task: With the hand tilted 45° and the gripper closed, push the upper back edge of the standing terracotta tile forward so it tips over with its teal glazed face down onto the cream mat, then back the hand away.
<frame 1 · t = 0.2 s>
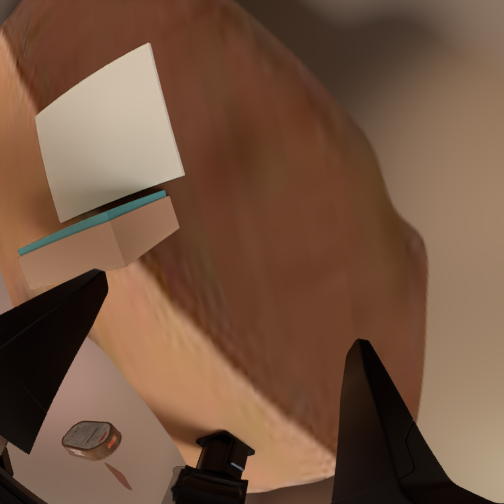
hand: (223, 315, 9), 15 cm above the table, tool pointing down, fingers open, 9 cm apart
tin: (99, 423, 42), on the table
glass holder: (203, 482, 43), on the table
tile: (122, 227, 26), on the table
mat: (95, 138, 24), on the table
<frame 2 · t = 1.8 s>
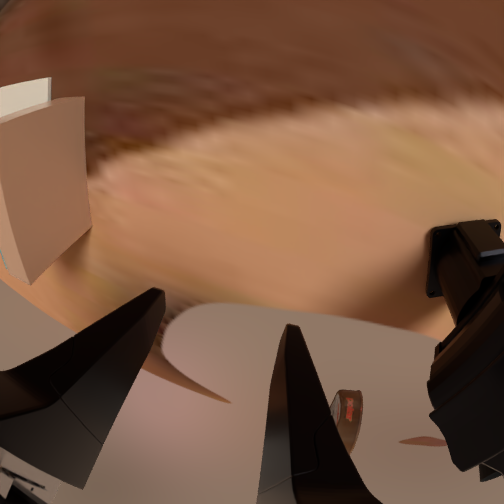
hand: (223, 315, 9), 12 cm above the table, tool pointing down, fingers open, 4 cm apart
tin: (337, 404, 34), on the table
tile: (74, 164, 21), on the table
mat: (16, 157, 22), on the table
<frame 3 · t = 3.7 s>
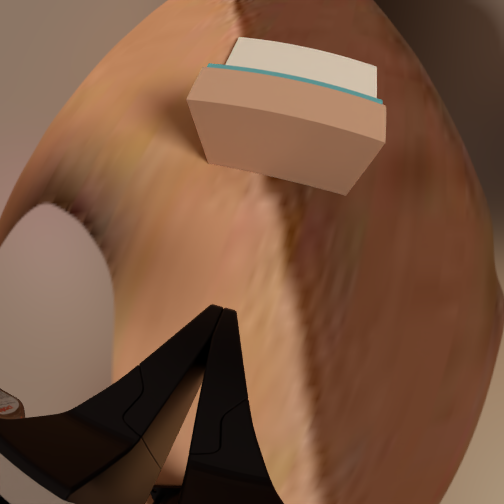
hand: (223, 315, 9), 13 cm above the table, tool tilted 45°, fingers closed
tin: (0, 393, 21), on the table
tile: (280, 162, 24), on the table
mat: (299, 86, 26), on the table
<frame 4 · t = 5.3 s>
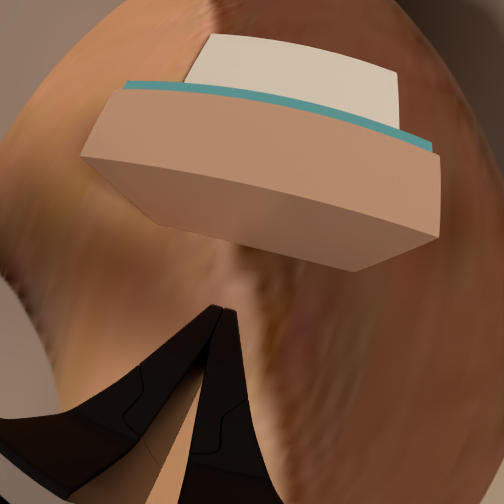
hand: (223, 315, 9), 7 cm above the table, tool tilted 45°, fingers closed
tile: (259, 223, 17), on the table
mat: (290, 101, 19), on the table
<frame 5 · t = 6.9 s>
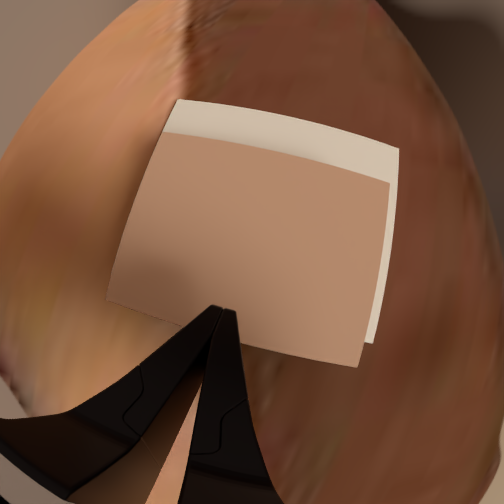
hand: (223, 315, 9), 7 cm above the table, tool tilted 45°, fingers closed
tile: (228, 335, 14), point 2 cm above the table, tilted 90°, touching mat
mat: (265, 204, 17), on the table
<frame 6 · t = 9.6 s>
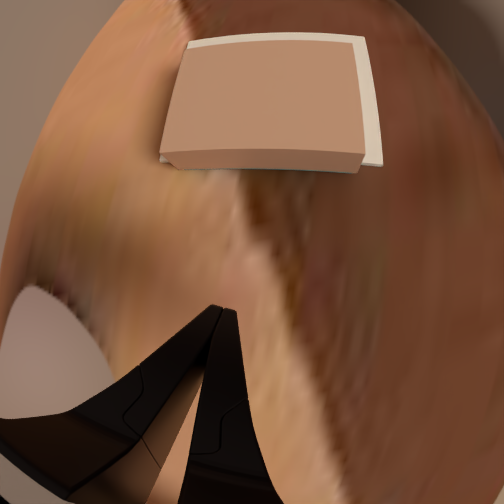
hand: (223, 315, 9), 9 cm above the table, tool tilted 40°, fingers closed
tile: (260, 159, 17), point 2 cm above the table, tilted 90°, touching mat
mat: (271, 86, 20), on the table
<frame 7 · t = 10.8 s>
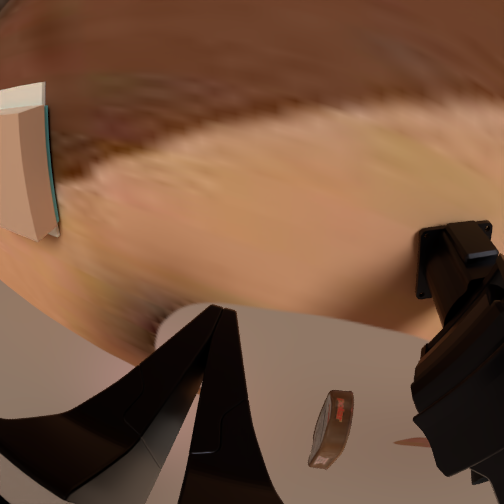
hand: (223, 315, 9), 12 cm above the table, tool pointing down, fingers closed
tin: (330, 404, 34), on the table
tile: (36, 175, 19), point 2 cm above the table, tilted 90°, touching mat
mat: (13, 160, 22), on the table
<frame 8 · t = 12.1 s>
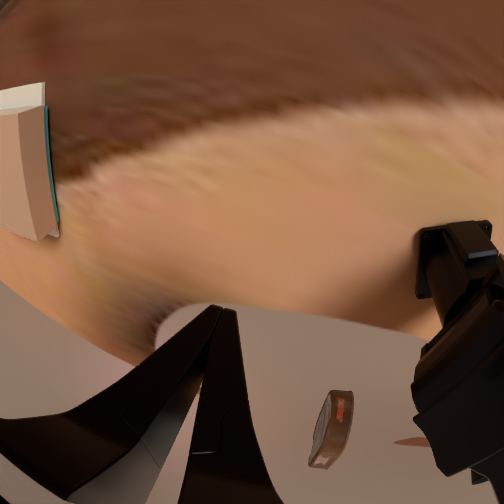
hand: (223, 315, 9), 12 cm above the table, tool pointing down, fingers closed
tin: (330, 404, 34), on the table
tile: (36, 175, 19), point 2 cm above the table, tilted 90°, touching mat
mat: (13, 160, 22), on the table
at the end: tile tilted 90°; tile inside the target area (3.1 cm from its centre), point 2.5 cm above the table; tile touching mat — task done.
